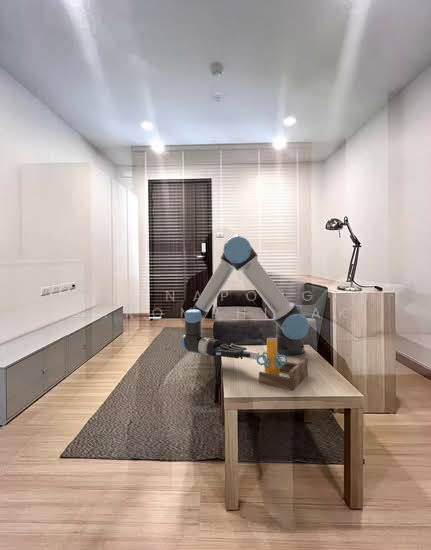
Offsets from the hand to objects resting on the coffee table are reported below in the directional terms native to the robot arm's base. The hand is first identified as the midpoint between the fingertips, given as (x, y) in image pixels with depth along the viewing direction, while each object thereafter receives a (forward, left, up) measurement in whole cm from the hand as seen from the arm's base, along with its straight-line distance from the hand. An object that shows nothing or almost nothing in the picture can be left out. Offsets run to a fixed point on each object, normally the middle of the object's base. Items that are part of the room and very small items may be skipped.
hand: (258, 356), depth 128 cm
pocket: (-7, +8, -7) cm, 13 cm away
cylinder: (-4, +4, -8) cm, 10 cm away
